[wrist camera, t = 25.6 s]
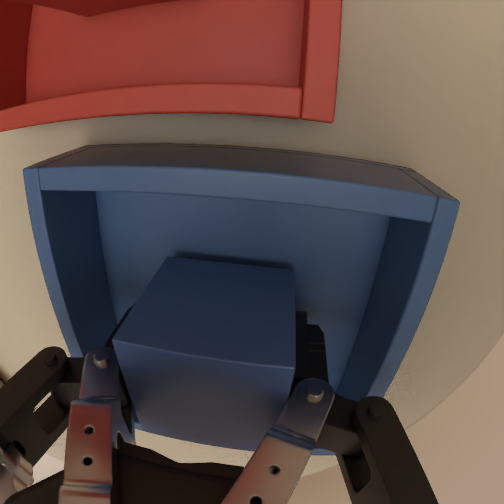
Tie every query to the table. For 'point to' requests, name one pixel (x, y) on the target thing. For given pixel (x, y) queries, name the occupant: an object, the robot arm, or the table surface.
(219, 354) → the blue block
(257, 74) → the red bin
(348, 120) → the table surface
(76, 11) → the red block
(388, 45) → the table surface
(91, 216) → the blue bin
